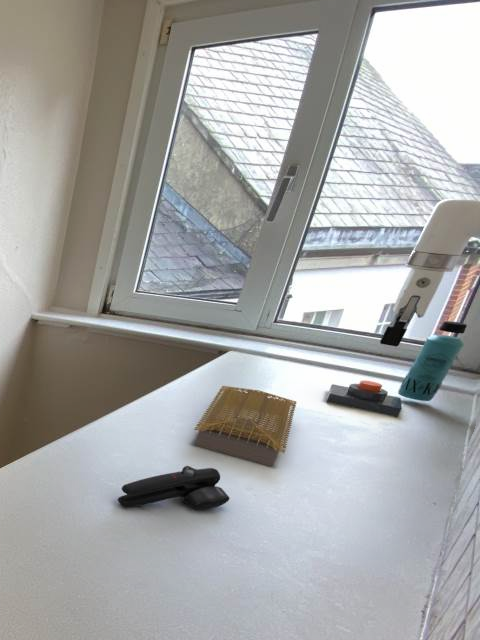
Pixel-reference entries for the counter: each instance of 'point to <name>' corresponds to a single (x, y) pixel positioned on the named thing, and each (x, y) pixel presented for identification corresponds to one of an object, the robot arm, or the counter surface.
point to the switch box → (365, 399)
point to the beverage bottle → (432, 363)
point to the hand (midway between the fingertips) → (388, 344)
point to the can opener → (177, 489)
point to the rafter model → (246, 424)
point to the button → (369, 386)
